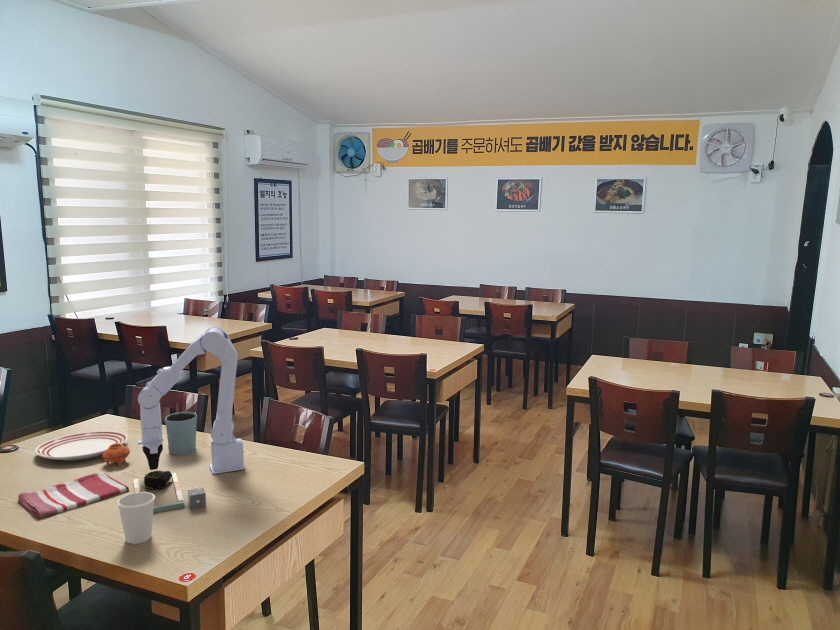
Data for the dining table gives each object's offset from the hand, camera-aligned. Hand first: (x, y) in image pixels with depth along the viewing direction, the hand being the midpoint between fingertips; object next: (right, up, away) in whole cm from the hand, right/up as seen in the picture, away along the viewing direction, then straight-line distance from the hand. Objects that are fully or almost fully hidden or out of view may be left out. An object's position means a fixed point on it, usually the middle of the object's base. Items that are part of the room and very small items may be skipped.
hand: (153, 468), depth 191 cm
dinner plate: (-32, +1, +19) cm, 37 cm away
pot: (-15, -1, +9) cm, 18 cm away
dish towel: (-15, -4, -16) cm, 22 cm away
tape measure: (+5, -3, -8) cm, 10 cm away
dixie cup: (+13, -7, -39) cm, 42 cm away
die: (+21, -5, -21) cm, 30 cm away
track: (+7, -4, -14) cm, 17 cm away
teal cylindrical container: (+1, +1, +20) cm, 20 cm away
